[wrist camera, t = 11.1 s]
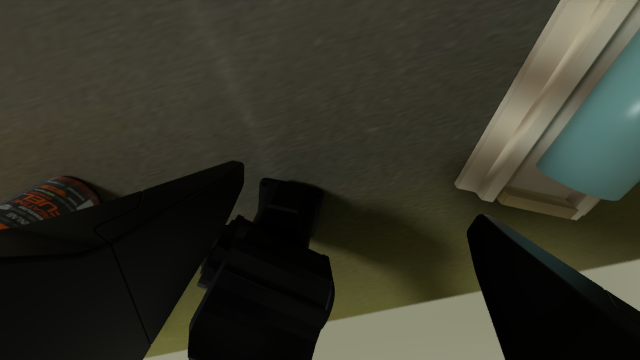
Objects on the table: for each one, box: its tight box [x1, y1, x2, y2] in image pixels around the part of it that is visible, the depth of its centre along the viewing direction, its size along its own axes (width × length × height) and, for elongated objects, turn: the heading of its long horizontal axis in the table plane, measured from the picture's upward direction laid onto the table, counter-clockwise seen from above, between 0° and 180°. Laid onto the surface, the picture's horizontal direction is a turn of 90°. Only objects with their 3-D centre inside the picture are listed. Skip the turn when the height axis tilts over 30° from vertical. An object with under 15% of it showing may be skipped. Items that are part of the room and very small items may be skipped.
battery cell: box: [536, 28, 640, 201], centre depth 15 cm, size 11×5×5 cm, turn 169°
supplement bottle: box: [0, 176, 100, 229], centre depth 24 cm, size 6×6×11 cm
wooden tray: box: [454, 0, 640, 220], centre depth 17 cm, size 18×12×3 cm, turn 169°
